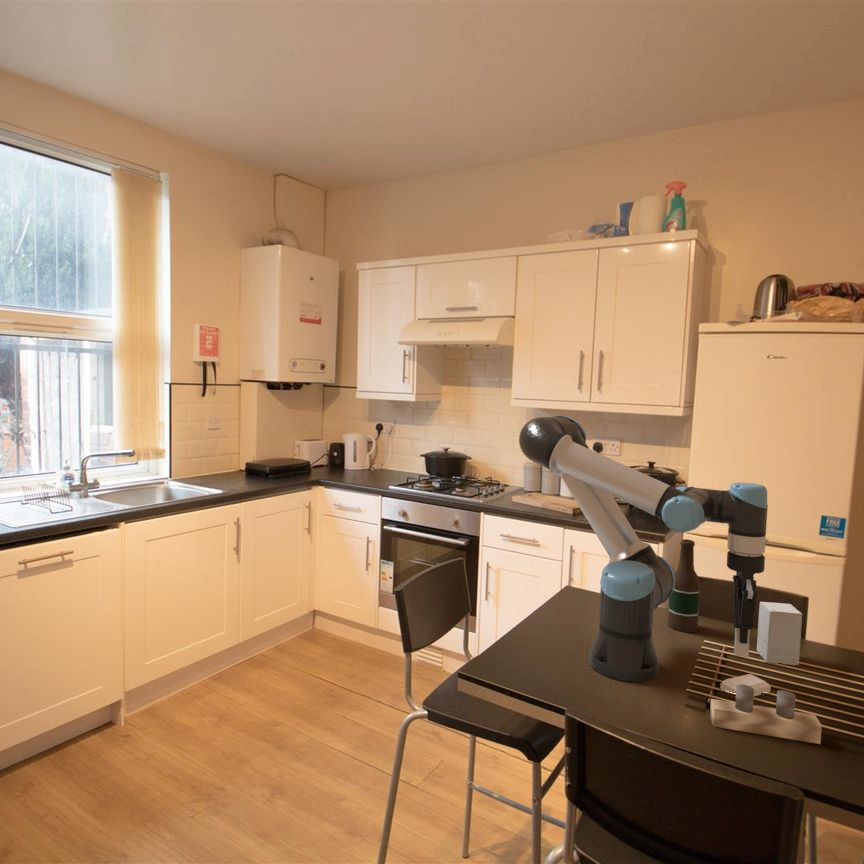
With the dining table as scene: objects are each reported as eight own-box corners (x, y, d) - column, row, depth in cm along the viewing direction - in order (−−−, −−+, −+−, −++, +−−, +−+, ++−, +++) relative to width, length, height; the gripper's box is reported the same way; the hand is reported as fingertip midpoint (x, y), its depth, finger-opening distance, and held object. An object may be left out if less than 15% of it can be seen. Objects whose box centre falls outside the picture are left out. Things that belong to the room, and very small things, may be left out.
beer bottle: (664, 620, 171) (669, 536, 169) (693, 623, 170) (698, 537, 168) (671, 631, 163) (676, 543, 162) (701, 634, 162) (707, 544, 161)
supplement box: (799, 666, 144) (803, 614, 143) (765, 662, 146) (769, 610, 145) (788, 653, 151) (791, 603, 151) (755, 650, 153) (758, 600, 152)
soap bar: (720, 690, 132) (720, 678, 132) (750, 683, 136) (750, 672, 135) (739, 701, 127) (740, 689, 127) (770, 694, 131) (770, 682, 131)
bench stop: (713, 726, 117) (715, 688, 116) (709, 715, 121) (712, 678, 120) (820, 744, 112) (823, 704, 111) (813, 732, 116) (816, 694, 115)
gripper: (772, 561, 130) (766, 669, 131) (757, 547, 142) (753, 646, 144) (733, 558, 132) (728, 664, 133) (722, 544, 145) (718, 642, 146)
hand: (741, 655), depth 139 cm, fingers closed
